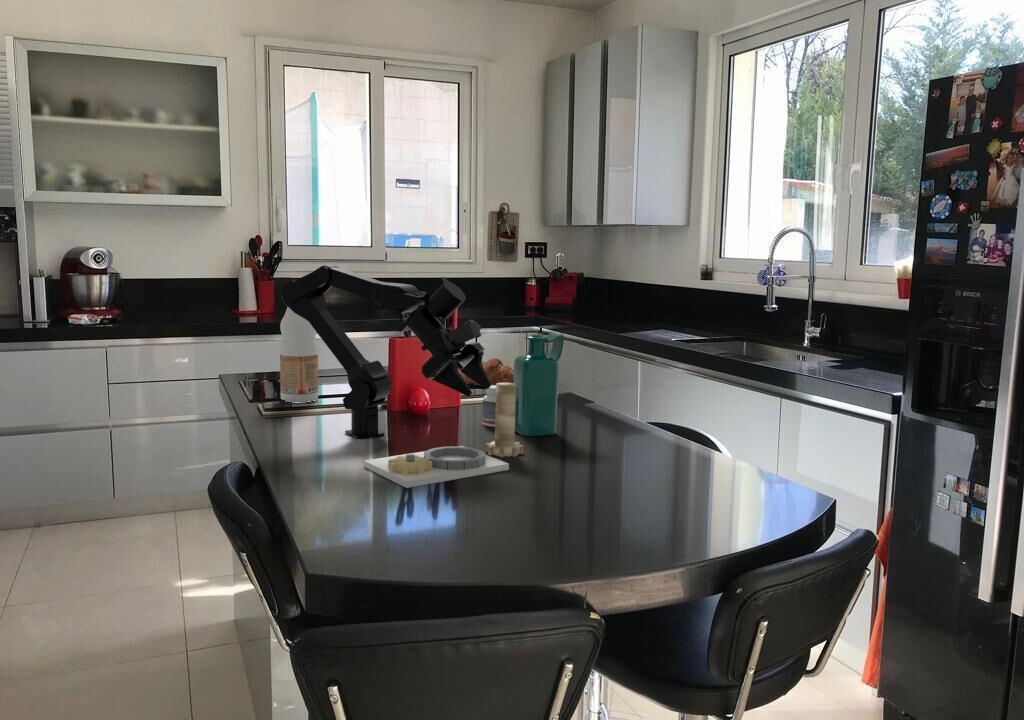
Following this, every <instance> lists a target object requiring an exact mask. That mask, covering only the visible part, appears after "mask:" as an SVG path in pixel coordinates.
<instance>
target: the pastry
mask: <svg viewBox="0 0 1024 720" xmlns="http://www.w3.org/2000/svg"><path fill="white" fill-rule="evenodd" d="M482 365H483V368H484V371H485V373H486V375H487V378H488V380H489V382H490V385H496V384H497V383H514V369H513V368H512V367H511V366H509V365H504V364H503V362H502V360H501V359H499V358H496V357H495V358H490V359H488V361H487V362H486V363H482ZM460 373H461V372H460ZM461 376H462V377H463V379H464V380H465V382H466V383H468V384H475V385H479V384H478V383H476V382H475V381H473V380H472V379H470V378H469V377H467V376H466V375H464V374H463V373H461ZM468 384H467V385H468ZM475 385H474V386H475ZM479 386H481V385H479Z"/></svg>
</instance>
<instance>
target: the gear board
mask: <svg viewBox="0 0 1024 720" xmlns="http://www.w3.org/2000/svg"><path fill="white" fill-rule="evenodd" d="M363 467H364V468H365V469H368V470H370V471H372V472H374V473H376V474H378V475H380V476H382V477H384V478H386V479H387V480H389V481H392V482H394V483H396V484H398V485H400V486H402V487H404V488H406V489H409V488H414V487H419V486H426V485H430V484H437V483H444V482H448V481H453V480H459V479H464V478H465V479H466V478H469V477H471V478H472V477H477V476H482V475H487V474H493V473H499V472H504V471H509V470H510V464H509V463H508V462H506V461H503V460H501V459H497V458H495V457H492V456H491V455H489V454H488V455H487V454H485V451H484V450H480V449H478V448H474V447H469V446H468V447H467V446H463V445H459V446H458V445H457V446H439V447H433V448H430V449H427V450H424V451H417V452H412V453H404V454H398V455H391V456H385V457H379V458H371V459H366V460H363Z"/></svg>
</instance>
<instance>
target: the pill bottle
mask: <svg viewBox="0 0 1024 720" xmlns="http://www.w3.org/2000/svg"><path fill="white" fill-rule="evenodd" d="M485 393H486V394H485V395H484V396H483V398H482V425H483V426H486V427H494V428H495V409H496V385H491V387H490V388H488V389H486V388H485Z"/></svg>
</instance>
